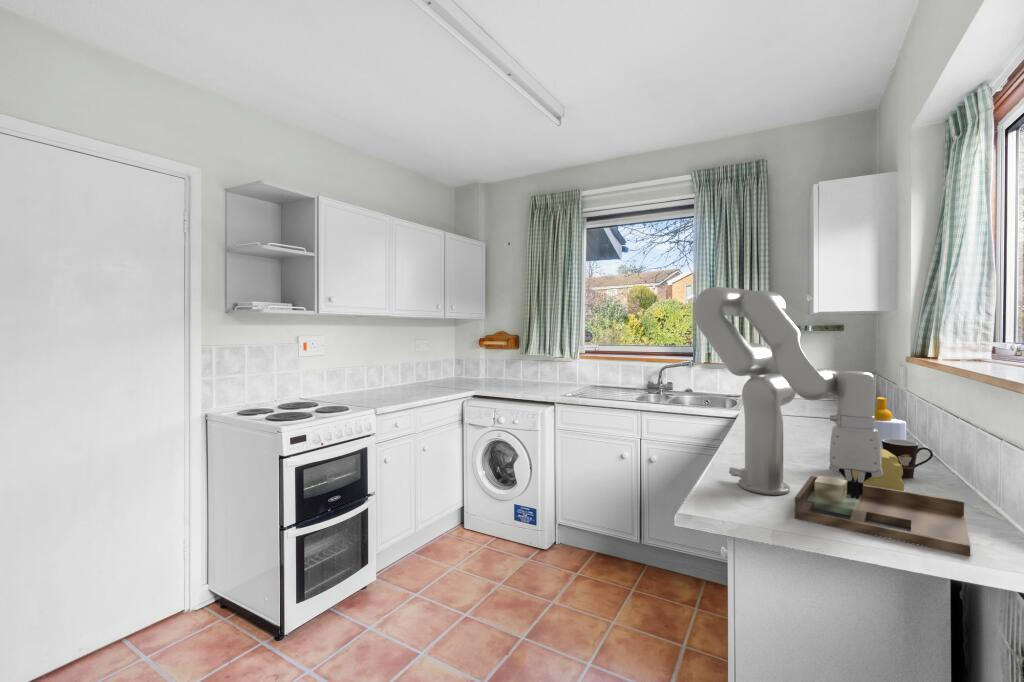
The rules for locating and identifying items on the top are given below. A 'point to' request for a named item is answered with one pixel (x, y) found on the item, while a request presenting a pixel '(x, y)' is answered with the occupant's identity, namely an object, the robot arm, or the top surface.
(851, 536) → the top surface
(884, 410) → the soap bottle
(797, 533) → the top surface
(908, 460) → the coffee mug
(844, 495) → the beech block
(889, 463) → the cheese
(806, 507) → the box
